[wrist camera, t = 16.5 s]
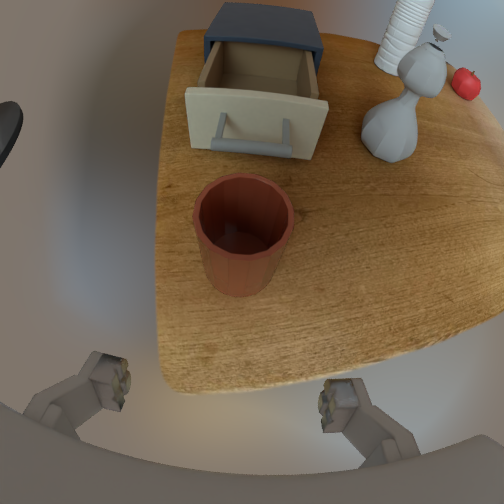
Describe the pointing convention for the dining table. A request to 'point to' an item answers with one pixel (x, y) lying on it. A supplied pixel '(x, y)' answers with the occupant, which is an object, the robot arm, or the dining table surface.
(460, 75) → the apple
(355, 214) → the dining table surface
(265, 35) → the cabinet
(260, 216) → the cup
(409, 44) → the water bottle
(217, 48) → the drawer
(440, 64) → the gourd bottle
